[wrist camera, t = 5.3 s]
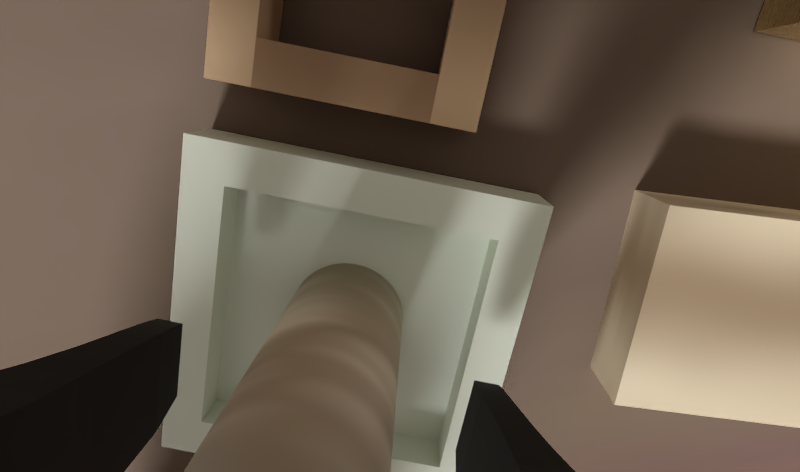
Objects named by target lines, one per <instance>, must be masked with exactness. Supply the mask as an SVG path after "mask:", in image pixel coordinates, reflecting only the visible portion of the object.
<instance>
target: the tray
mask: <svg viewBox="0 0 800 472" xmlns="http://www.w3.org/2000/svg"><path fill="white" fill-rule="evenodd" d="M553 208H554V207H553V206H552V205H551V204H549V203H548V202H547V201H546V200H545V199H543V198H542V197H541V196H540V195H539V194H534V193H529V192H524V191H519V190H514V189H509V188H504V187H499V186H494V185H489V184H485V183H480V182H475V181H470V180H465V179H460V178H455V177H450V176H445V175H440V174H435V173H430V172H425V171H420V170H415V169H410V168H405V167H400V166H395V165H390V164H385V163H380V162H375V161H370V160H365V159H360V158H355V157H350V156H345V155H340V154H335V153H330V152H325V151H320V150H315V149H310V148H305V147H300V146H295V145H290V144H285V143H280V142H275V141H270V140H265V139H260V138H255V137H250V136H245V135H240V134H235V133H230V132H225V131H220V130H215V129H206V130H200V131H193V132H186V133H183V147H182V161H181V175H180V189H179V203H178V217H177V231H176V245H175V259H174V273H173V287H172V301H171V315H170V321H172V322H177V323H182V324H183V327H182V340H181V353H180V365H179V378H178V390H177V397H176V399H175V401H174V402H173V404H172V406H171V407H170V409H169V411H168V413H167V414H166V416H165V418H164V419H163V427H162V441H161V447H167V448H172V449H177V450H182V451H188V452H193V453H196V451H197V449H198V448H199V446H200V445H201V443H202V441H203V440H204V438H205V437H206V435H207V433H208V432H209V430H210V429H211V427H212V425H213V424H214V422H215V421H216V419H217V417H218V416H219V414H220V413H221V411H222V410H223V408H224V406H225V405H226V403H227V402H228V400H229V398H230V397H231V395H232V394H233V392H234V390H235V389H236V387H237V386H238V384H239V382H240V381H241V379H242V378H243V376H244V374H245V373H246V371H247V370H248V368H249V366H250V365H251V363H252V362H253V360H254V359H255V357H256V355H257V354H258V352H259V351H260V349H261V347H262V346H263V344H264V343H265V341H266V339H267V338H268V336H269V335H270V333H271V331H272V330H273V328H274V327H275V325H276V323H277V322H278V320H279V319H280V317H281V316H282V314H283V312H284V311H285V309H286V308H287V306H288V304H289V303H290V301H291V300H292V298H293V296H294V295H295V293H296V292H297V290H298V288H299V287H300V285H301V284H302V283H303V282H304V280H305V279H306V278H307V277H309V276H310V275H311V274H312V273H314V272H315V271H317V270H319V269H321V268H323V267H326V266H329V265H333V264H341V263H349V264H356V265H361V266H364V267H367V268H369V269H371V270H373V271H375V272H377V273H378V274H380V275H381V276H382V277H384V278H385V279H386V280H387V281H388V282H389V283H390V284H391V285H392V287H393V288H394V290H395V291H396V293H397V295H398V297H399V300H400V302H401V306H402V314H403V320H402V333H401V346H400V358H399V371H398V384H397V397H396V409H395V422H394V435H393V448H392V460H391V472H456V447H457V443H458V439H459V435H460V432H461V428H462V424H463V421H464V417H465V413H466V409H467V406H468V402H469V398H470V395H471V391H472V387H473V383H474V380H476V381H481V382H486V383H491V384H496V385H499V386H500V387H501V388H502V385H503V382H504V378H505V375H506V371H507V368H508V364H509V361H510V357H511V354H512V350H513V347H514V344H515V340H516V337H517V333H518V330H519V326H520V323H521V319H522V316H523V312H524V309H525V305H526V302H527V298H528V295H529V291H530V288H531V285H532V281H533V278H534V274H535V271H536V267H537V264H538V260H539V257H540V253H541V250H542V246H543V243H544V239H545V236H546V232H547V229H548V226H549V222H550V219H551V215H552V212H553Z"/></svg>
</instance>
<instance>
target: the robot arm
mask: <svg viewBox="0 0 800 472" xmlns="http://www.w3.org/2000/svg"><path fill="white" fill-rule="evenodd" d="M182 327H183V324H182V323H177V322H172V321H167V320H162V319H155V320H151V321H148V322H145V323H142V324H139V325H136V326H133V327H130V328H127V329H124V330H122V331H119V332H116V333H113V334H111V335H108V336H105V337H102V338H99V339H97V340H94V341H91V342H88V343H86V344H83V345H80V346H77V347H74V348H71V349H68V350H65V351H62V352H59V353H55V354H52V355H49V356H46V357H43V358H40V359H37V360H34V361H31V362H27V363H24V364H20V365H17V366H13V367H10V368H6V369H2V370H0V472H124V471H125V470H126V469H127V467H128V466H129V465H130V464H131V462H132V461H133V460H134V459H135V457H136V456H137V455H138V454H139V452H140V451H141V450H142V449H143V447H144V446H145V445H146V444H147V442H148V441H149V440H150V438H151V437H152V436H153V435H154V433H155V432H156V430H157V429H158V427H159V426H160V424H161V422H162V421H163V419H164V418H165V416H166V414H167V413H168V411H169V409H170V407H171V406H172V404H173V402H174V401H175V399H176V397H177V390H178V378H179V365H180V353H181V340H182ZM456 472H575V471H574V470H573V469H572V468H571V467H570V466H569V465H568V464H567V463H566V462H565V461H564V460H563V459H562V458H561V456H560V455H559V454H558V453H557V452H556V451H555V450H554V449H553V448H552V447H551V446H550V445H549V444H548V442H547V441H546V440H545V439H544V438H543V437H542V436H541V435H540V433H539V432H538V431H537V430H536V429H535V428H534V426H533V425H532V424H531V423H530V422H529V420H528V419H527V418H526V417H525V416H524V414H523V413H522V412H521V411H520V409H519V408H518V407H517V406H516V405H515V403H514V402H513V401H512V400H511V398H510V397H509V396H508V395H507V394H506V392H505V391H504V390H503V389H502V388H501V387H500V386H499V385H496V384H491V383H486V382H481V381H476V380H474V383H473V387H472V391H471V395H470V398H469V402H468V406H467V409H466V413H465V417H464V421H463V424H462V428H461V432H460V435H459V439H458V443H457V447H456Z"/></svg>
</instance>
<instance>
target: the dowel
mask: <svg viewBox="0 0 800 472" xmlns="http://www.w3.org/2000/svg"><path fill="white" fill-rule="evenodd" d="M402 320H403V314H402V306H401V302H400V300H399V297H398V295H397V293H396V291H395V290H394V288H393V287H392V285H391V284H390V283H389V282H388V281H387V280H386V279H385V278H384V277H382V276H381V275H380V274H378V273H377V272H375V271H373V270H371V269H369V268H367V267H364V266H361V265H356V264H349V263H341V264H333V265H329V266H326V267H323V268H321V269H319V270H317V271H315V272H314V273H312V274H311V275H310V276H309V277H307V278H306V279H305V280H304V282H303V283H302V284H301V285H300V287H299V288H298V290H297V292H296V293H295V295H294V296H293V298H292V300H291V301H290V303H289V304H288V306H287V308H286V309H285V311H284V312H283V314H282V316H281V317H280V319H279V320H278V322H277V323H276V325H275V327H274V328H273V330H272V331H271V333H270V335H269V336H268V338H267V339H266V341H265V343H264V344H263V346H262V347H261V349H260V351H259V352H258V354H257V355H256V357H255V359H254V360H253V362H252V363H251V365H250V366H249V368H248V370H247V371H246V373H245V374H244V376H243V378H242V379H241V381H240V382H239V384H238V386H237V387H236V389H235V390H234V392H233V394H232V395H231V397H230V398H229V400H228V402H227V403H226V405H225V406H224V408H223V410H222V411H221V413H220V414H219V416H218V417H217V419H216V421H215V422H214V424H213V425H212V427H211V429H210V430H209V432H208V433H207V435H206V437H205V438H204V440H203V441H202V443H201V445H200V446H199V448H198V449H197V451H196V453H195V454H194V456H193V457H192V459H191V460H190V462H189V464H188V465H187V467H186V468H185V470H184V472H391V460H392V448H393V435H394V422H395V409H396V397H397V384H398V371H399V358H400V346H401V333H402Z"/></svg>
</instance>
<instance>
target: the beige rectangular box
mask: <svg viewBox="0 0 800 472" xmlns="http://www.w3.org/2000/svg"><path fill="white" fill-rule="evenodd" d="M590 367H591V368H592V370H593V372H594V373H595V375H596V376H597V378H598V379H599V381H600V383H601V384H602V386H603V387H604V389H605V391H606V392H607V394H608V395H609V397H610V399H611V400H612V402H613V403H614V405H620V406H628V407H636V408H644V409H652V410H660V411H669V412H677V413H685V414H693V415H701V416H709V417H717V418H725V419H733V420H741V421H749V422H757V423H765V424H773V425H781V426H789V427H797V428H800V210H794V209H786V208H778V207H770V206H762V205H754V204H746V203H738V202H729V201H721V200H713V199H705V198H697V197H689V196H681V195H673V194H665V193H657V192H649V191H641V190H635V191H634V195H633V199H632V203H631V207H630V211H629V215H628V219H627V223H626V227H625V231H624V235H623V239H622V243H621V247H620V251H619V255H618V259H617V263H616V267H615V271H614V275H613V279H612V283H611V286H610V290H609V294H608V298H607V302H606V306H605V310H604V314H603V318H602V322H601V326H600V330H599V334H598V338H597V342H596V346H595V350H594V354H593V358H592V362H591V366H590Z"/></svg>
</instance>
